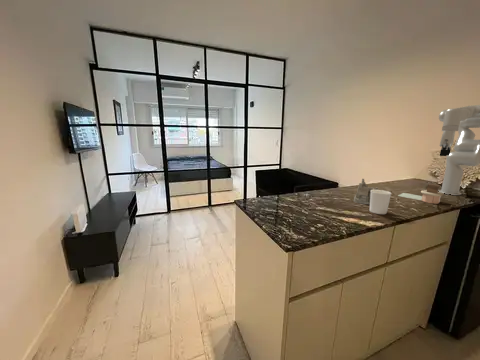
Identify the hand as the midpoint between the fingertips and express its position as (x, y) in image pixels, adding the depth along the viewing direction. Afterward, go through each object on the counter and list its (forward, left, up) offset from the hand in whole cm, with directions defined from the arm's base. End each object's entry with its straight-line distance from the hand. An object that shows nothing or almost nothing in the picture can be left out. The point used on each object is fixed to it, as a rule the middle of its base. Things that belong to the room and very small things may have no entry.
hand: (444, 155), depth 136 cm
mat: (+7, -12, -30) cm, 33 cm away
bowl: (+12, -1, -30) cm, 33 cm away
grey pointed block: (+42, -27, -31) cm, 58 cm away
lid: (+12, -1, -24) cm, 27 cm away
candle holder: (+58, -15, -31) cm, 67 cm away
